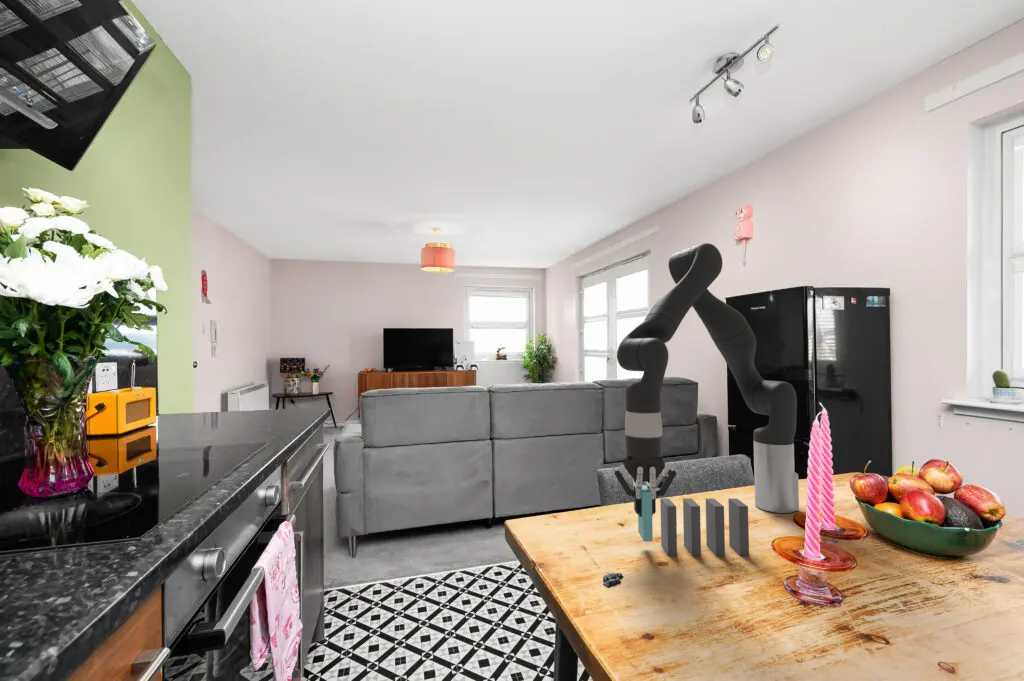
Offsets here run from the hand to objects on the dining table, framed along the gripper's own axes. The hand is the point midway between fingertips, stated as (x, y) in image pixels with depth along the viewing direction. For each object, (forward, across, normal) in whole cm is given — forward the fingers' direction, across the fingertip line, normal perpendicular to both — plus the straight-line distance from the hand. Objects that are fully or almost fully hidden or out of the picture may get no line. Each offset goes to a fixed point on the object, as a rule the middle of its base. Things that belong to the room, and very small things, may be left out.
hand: (644, 515), depth 97 cm
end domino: (+4, 0, 0) cm, 4 cm away
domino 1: (+7, -5, 0) cm, 9 cm away
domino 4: (+7, -19, 0) cm, 21 cm away
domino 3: (+7, -14, 0) cm, 16 cm away
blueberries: (+8, +9, +13) cm, 18 cm away
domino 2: (+7, -10, 0) cm, 12 cm away
